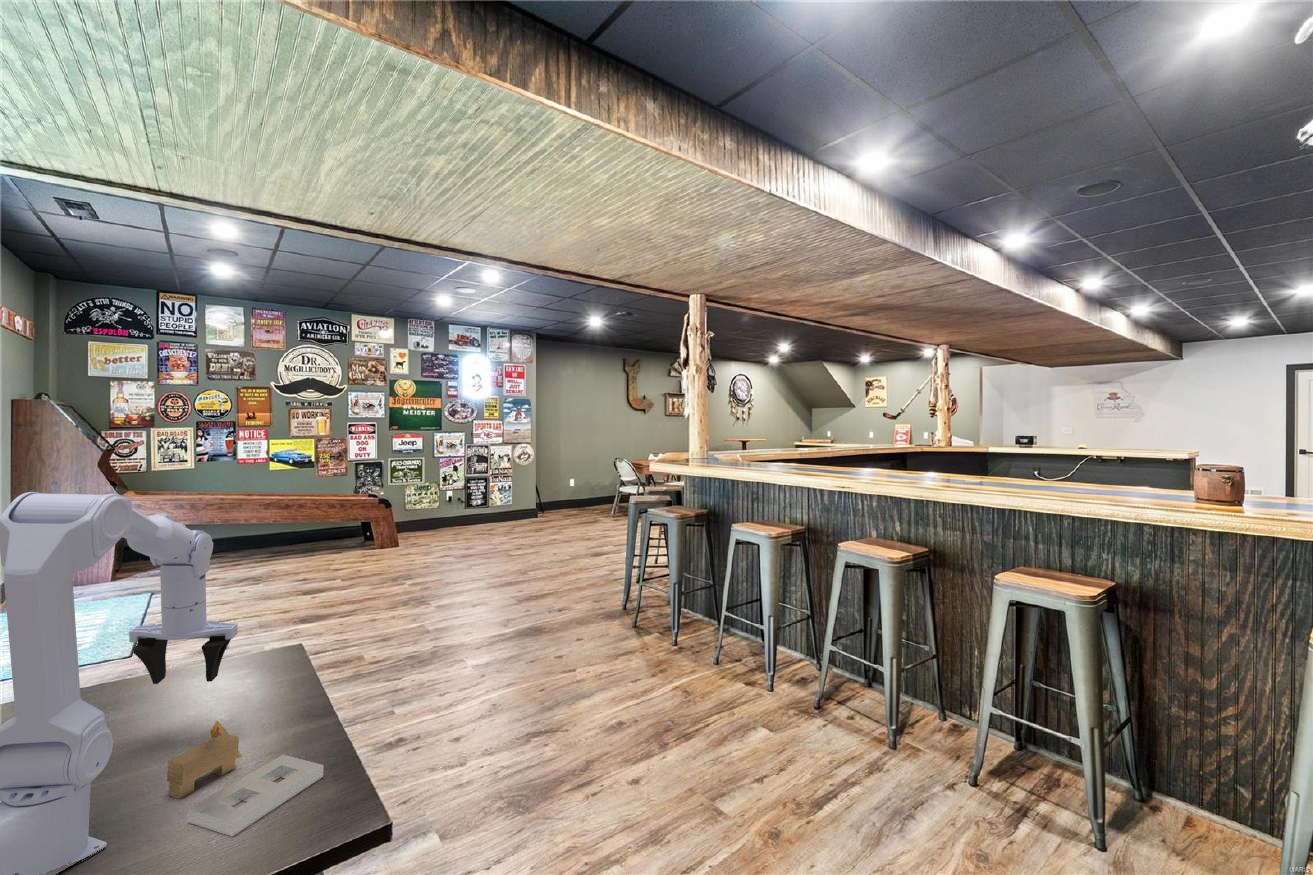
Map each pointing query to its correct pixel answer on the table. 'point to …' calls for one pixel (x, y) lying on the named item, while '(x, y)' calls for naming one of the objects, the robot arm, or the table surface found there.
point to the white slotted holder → (254, 795)
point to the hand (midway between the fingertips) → (185, 679)
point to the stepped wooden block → (201, 763)
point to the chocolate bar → (219, 730)
